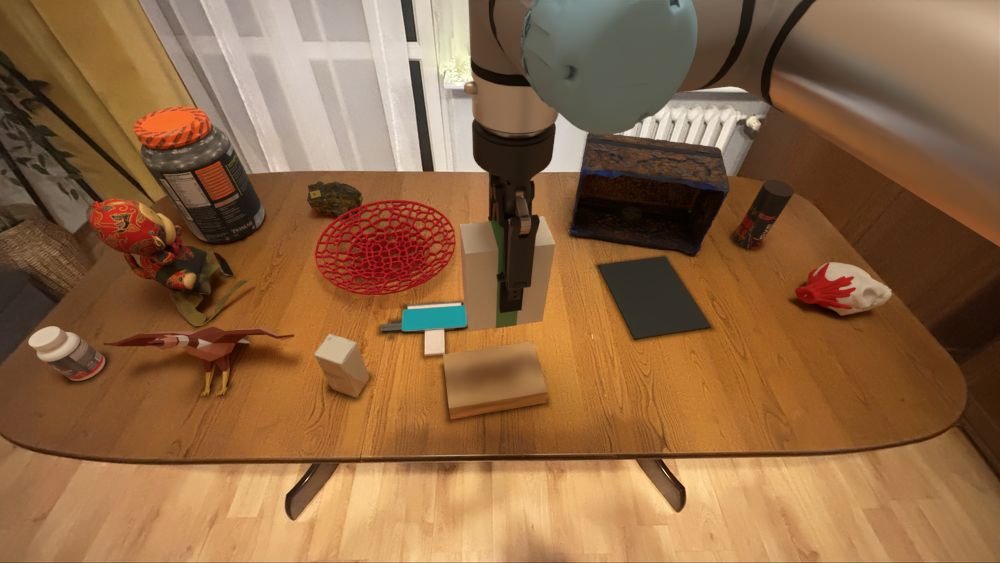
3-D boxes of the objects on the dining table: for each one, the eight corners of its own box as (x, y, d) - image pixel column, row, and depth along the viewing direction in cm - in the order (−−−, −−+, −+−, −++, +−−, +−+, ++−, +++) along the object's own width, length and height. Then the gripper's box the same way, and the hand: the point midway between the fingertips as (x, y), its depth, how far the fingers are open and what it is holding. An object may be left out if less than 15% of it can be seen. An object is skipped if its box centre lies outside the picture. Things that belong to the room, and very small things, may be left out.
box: (331, 389, 71) (310, 353, 62) (345, 368, 73) (327, 331, 65) (358, 398, 70) (341, 364, 61) (371, 377, 72) (357, 341, 64)
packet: (465, 253, 44) (555, 243, 45) (459, 223, 47) (543, 215, 49) (468, 332, 54) (542, 322, 56) (463, 302, 58) (533, 293, 59)
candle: (878, 314, 84) (811, 333, 82) (835, 274, 91) (773, 291, 90) (907, 285, 77) (835, 306, 76) (858, 245, 84) (791, 263, 83)
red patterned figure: (233, 323, 77) (108, 226, 59) (158, 333, 81) (18, 244, 62) (263, 263, 87) (165, 164, 68) (196, 274, 90) (84, 182, 72)
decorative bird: (85, 432, 61) (37, 347, 55) (166, 359, 78) (137, 287, 71) (283, 421, 63) (259, 337, 57) (321, 352, 80) (306, 281, 73)
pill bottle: (61, 382, 70) (13, 350, 63) (82, 355, 74) (38, 322, 67) (94, 381, 71) (50, 349, 63) (113, 354, 74) (73, 321, 67)
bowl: (324, 325, 80) (316, 308, 76) (319, 229, 98) (312, 212, 95) (472, 291, 86) (471, 274, 83) (441, 207, 105) (439, 191, 101)
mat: (710, 327, 81) (711, 326, 81) (634, 339, 79) (634, 338, 79) (664, 257, 94) (665, 256, 94) (597, 265, 92) (598, 264, 92)
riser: (545, 403, 70) (548, 391, 67) (450, 419, 67) (448, 408, 64) (531, 353, 76) (533, 340, 73) (444, 366, 74) (442, 354, 71)
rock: (357, 169, 101) (351, 182, 95) (371, 202, 106) (367, 217, 100) (308, 181, 101) (299, 195, 95) (325, 214, 107) (317, 229, 100)
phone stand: (378, 360, 75) (377, 355, 73) (384, 308, 83) (382, 303, 81) (489, 351, 76) (489, 346, 75) (484, 301, 84) (484, 296, 83)
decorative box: (701, 261, 95) (689, 201, 107) (742, 194, 79) (722, 132, 91) (568, 249, 98) (570, 192, 110) (580, 182, 82) (581, 123, 93)
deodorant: (740, 229, 102) (771, 176, 91) (764, 242, 99) (799, 189, 88) (728, 239, 99) (758, 186, 88) (751, 253, 96) (786, 200, 85)
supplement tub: (225, 199, 105) (168, 97, 86) (280, 210, 103) (233, 107, 84) (178, 239, 95) (100, 133, 76) (237, 252, 92) (173, 146, 73)
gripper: (459, 79, 42) (467, 248, 59) (489, 180, 30) (488, 355, 47) (531, 76, 43) (519, 242, 60) (587, 171, 31) (552, 346, 48)
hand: (505, 291), depth 54 cm, fingers closed on packet, 5 cm apart
